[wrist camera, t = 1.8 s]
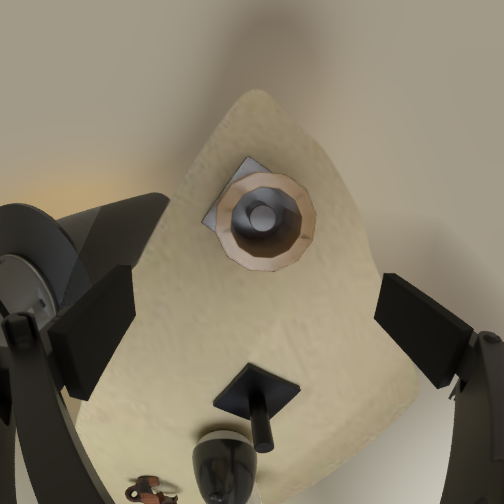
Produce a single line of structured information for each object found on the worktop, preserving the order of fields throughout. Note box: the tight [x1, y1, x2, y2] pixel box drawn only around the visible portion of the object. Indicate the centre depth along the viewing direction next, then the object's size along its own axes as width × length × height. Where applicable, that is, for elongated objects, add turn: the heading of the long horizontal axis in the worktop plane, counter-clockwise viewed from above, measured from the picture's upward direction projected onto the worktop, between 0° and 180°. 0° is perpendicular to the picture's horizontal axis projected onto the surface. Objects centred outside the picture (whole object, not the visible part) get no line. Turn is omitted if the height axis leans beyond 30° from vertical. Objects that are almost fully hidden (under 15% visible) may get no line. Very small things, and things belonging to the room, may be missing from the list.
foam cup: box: [247, 480, 263, 504], centre depth 38 cm, size 10×9×13 cm
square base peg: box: [213, 363, 301, 453], centre depth 32 cm, size 9×9×10 cm
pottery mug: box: [125, 477, 178, 504], centre depth 41 cm, size 12×10×8 cm
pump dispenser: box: [192, 430, 257, 504], centre depth 32 cm, size 10×10×15 cm
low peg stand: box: [201, 156, 285, 239], centre depth 27 cm, size 8×8×6 cm
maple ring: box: [215, 172, 316, 272], centre depth 26 cm, size 8×8×7 cm
